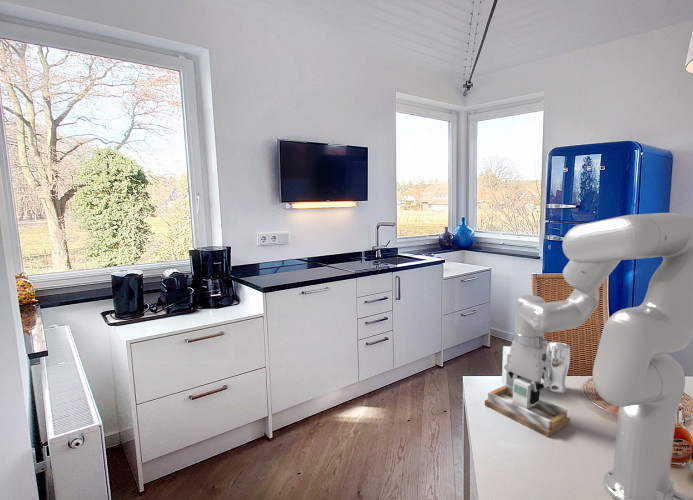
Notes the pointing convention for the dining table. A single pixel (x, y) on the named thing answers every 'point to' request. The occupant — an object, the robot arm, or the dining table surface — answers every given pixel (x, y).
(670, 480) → the robot arm
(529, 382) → the block
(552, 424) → the rail board
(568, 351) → the beer glass
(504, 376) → the supplement box
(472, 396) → the dining table surface
